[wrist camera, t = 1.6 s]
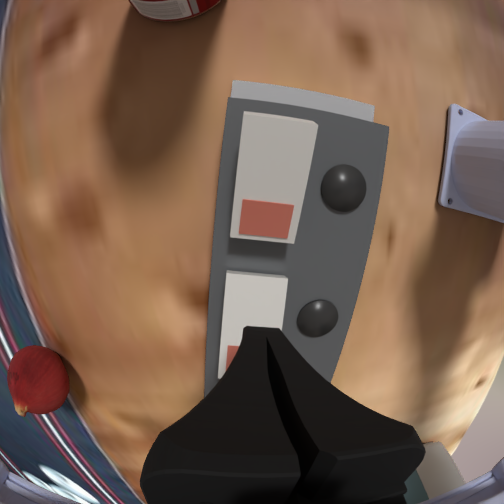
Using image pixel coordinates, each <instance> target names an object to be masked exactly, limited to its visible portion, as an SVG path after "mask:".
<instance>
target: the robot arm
mask: <svg viewBox="0 0 504 504" xmlns="http://www.w3.org/2000/svg"><path fill="white" fill-rule="evenodd" d="M458 110H459V112H460V115H459V113H458ZM448 199H450V201H449V203H448ZM438 202H439V204H440V205H441V206H444V207H448V208H452V209H456V210H460V211H463V212H467V213H471V214H474V215H478V216H482V217H485V218H488V219H492V220H495V221H499V222H502V223H504V121H488V120H486V119H484V118H482V117H480V116H478V115H476V114H475V113H473V112H471V111H469V110H467V109H465V108H463V107H461V106H459V105H456V104H451V105H450V106H449V110H448V126H447V138H446V148H445V157H444V165H443V172H442V179H441V185H440V191H439V197H438ZM425 453H426V451H425V447H424V445H423V443H422V442H421V440H420V438H419V436H418V434H417V432H416V431H415V429H414V428H413V426H411V425H408V424H405V423H402V422H399V421H397V420H394V419H391V418H388V417H386V416H384V415H382V414H379V413H377V412H375V411H373V410H371V409H369V408H367V407H365V406H364V405H362V404H360V403H358V402H357V401H355V400H353V399H352V398H350V397H349V396H347V395H346V394H344V393H343V392H341V391H340V390H338V389H337V388H336V387H335V386H333V385H332V384H331V383H329V382H328V381H327V380H326V379H325V378H323V377H322V376H321V375H320V374H319V373H318V372H317V371H316V370H315V369H314V368H313V367H312V366H311V365H310V364H309V363H308V362H307V361H306V360H305V359H304V358H303V357H302V356H301V354H300V353H299V352H298V351H297V350H296V349H295V347H294V346H293V345H292V344H291V342H290V341H289V340H288V339H287V337H286V336H285V335H284V333H283V332H282V331H281V330H280V328H271V327H256V326H246V327H244V328H243V334H242V340H241V343H240V346H239V348H238V350H237V352H236V354H235V356H234V358H233V360H232V362H231V364H230V365H229V367H228V369H227V370H226V372H225V373H224V375H223V376H222V378H221V379H220V380H219V382H218V383H217V384H216V385H215V387H214V388H213V389H212V390H211V391H210V392H209V393H208V395H207V396H206V397H205V398H204V399H203V400H202V401H201V402H200V403H199V404H198V405H196V406H195V407H194V408H193V409H192V410H191V411H190V412H188V413H187V414H186V415H185V416H184V417H182V418H181V419H180V420H178V421H177V422H175V423H174V424H172V425H171V426H169V427H168V428H166V429H165V430H163V431H162V432H160V434H159V435H158V437H157V439H156V440H155V442H154V443H153V445H152V447H151V449H150V451H149V453H148V455H147V457H146V460H145V462H144V465H143V469H142V474H141V478H140V487H141V489H142V492H143V494H144V496H145V499H146V501H147V503H148V504H407V502H406V500H405V497H404V495H403V494H405V493H406V492H407V487H406V485H405V483H404V482H405V481H406V480H407V479H408V477H409V476H410V475H411V474H412V473H413V472H414V471H415V470H416V469H417V467H418V466H419V465H420V464H421V462H422V461H423V459H424V456H425ZM0 504H81V503H78V502H75V501H73V500H70V499H68V498H65V497H62V496H60V495H58V494H55V493H53V492H51V491H48V490H46V489H44V488H42V487H39V486H37V485H35V484H33V483H31V482H29V481H27V480H25V479H23V478H21V477H19V476H17V475H15V474H14V473H12V472H10V471H9V470H8V468H7V467H6V465H5V464H4V463H3V462H2V461H1V460H0ZM418 504H504V457H503V458H502V459H501V460H500V461H499V462H498V463H497V464H496V465H495V466H494V467H493V469H492V470H491V471H489V472H487V473H486V474H484V475H482V476H480V477H478V478H476V479H474V480H472V481H470V482H468V483H466V484H464V485H462V486H460V487H458V488H455V489H453V490H451V491H449V492H446V493H444V494H441V495H439V496H437V497H434V498H431V499H429V500H426V501H424V502H421V503H418Z"/></svg>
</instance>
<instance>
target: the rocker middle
mask: <svg viewBox="0 0 504 504" xmlns="http://www.w3.org/2000/svg"><path fill="white" fill-rule="evenodd" d="M287 284H288V278H287V277H285V276H284V275H273V274H262V273H251V272H240V271H230V270H227V273H226V284H225V295H224V307H223V318H222V330H221V343H220V355H219V368H218V378H220V379H221V378H222V376H223V375H224V373H225V372H226V370H227V369H228V367H229V365H230V364H231V362H232V360H233V358H234V356H235V354H236V352H237V350H238V348H239V346H240V343H241V340H242V334H243V328H244V327H246V326H256V327H271V328H280V330H281V331H282V325H283V317H284V309H285V301H286V293H287Z"/></svg>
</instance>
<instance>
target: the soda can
mask: <svg viewBox="0 0 504 504" xmlns="http://www.w3.org/2000/svg"><path fill="white" fill-rule="evenodd" d="M220 1H221V0H129V2H130V3H131V4H132V5H133V7H134V8H135V9H136V11H137V12H138V13H140V14H141V15H142V16H144V17H146V18H148V19H151V20H155V21H161V22H175V21H182V20H187V19H190V18H193V17H196V16H198V15H201V14H203V13H205V12H207V11H208V10H210V9H211V8H213V7H214V6H215V5H217V4H218V3H219V2H220Z"/></svg>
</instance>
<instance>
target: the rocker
mask: <svg viewBox="0 0 504 504" xmlns="http://www.w3.org/2000/svg"><path fill="white" fill-rule="evenodd" d="M317 130H318V124H316V123H315V122H314V121H310V120H305V119H299V118H293V117H286V116H280V115H272V114H265V113H257V112H248V111H244V114H243V122H242V130H241V139H240V147H239V156H238V165H237V174H236V183H235V193H234V202H233V212H232V222H231V232H230V237H232V238H242V239H252V240H262V241H272V242H281V243H291V244H294V241H295V237H296V233H297V228H298V223H299V219H300V214H301V210H302V205H303V200H304V196H305V191H306V186H307V181H308V176H309V171H310V166H311V161H312V156H313V151H314V146H315V141H316V135H317Z"/></svg>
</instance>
